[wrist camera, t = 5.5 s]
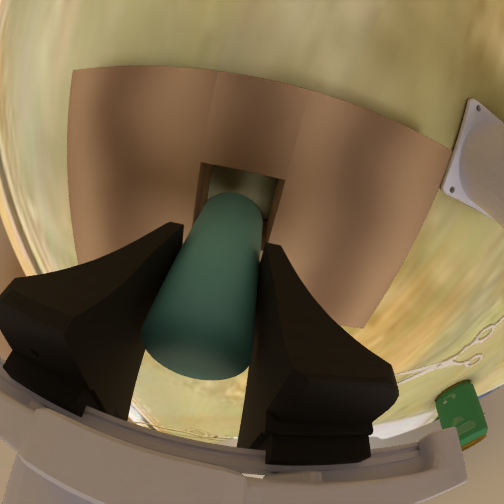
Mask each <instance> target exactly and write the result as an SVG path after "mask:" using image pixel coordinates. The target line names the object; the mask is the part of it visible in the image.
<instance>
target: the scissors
mask: <svg viewBox="0 0 504 504" xmlns="http://www.w3.org/2000/svg"><path fill="white" fill-rule="evenodd" d="M503 319H504V315H503V316H502V317H501V318H500V319H499V320H498V321H497V322H496V323H495V324H494V325H493V324H490V325H488V326H486V327H485V328H483V329H482V330H481V331H480V332H479V333H478V334H477V335H476V337H475V338H474V340H473V341H472V342H470V343H469V344H468V345H466V346H464V347H463V348H462V350H460V351H459V352H458V353H457V354H455V355H453V356H451V357H449V358H447V359H445V360H443V361H441V362H439V363H436V364H432V365H429V366H425V367H421V368H417V369H413V370H410V371H406V372H402V373H397V374H394V375H395V376H397V375H403V374H408V373H413V372H419V371H422V370H424V371H422V372H420V373H418V374H416V375H414V376H412V377H410V378H408V379H406V380H404V381H402V382H399V383H397V385H399V384H402V383H405V382H407V381H410V380H412V379H415V378H417V377H420V376H422V375H424V374H426V373H429V372H431V371H433V370H435V369H440V368H444V367H448V366H451V365H458V366H459V365H462V364H465V366H466V367H471V366H473V365H475V364H477V363H478V362H479V361H480V360H481V359H482V357H483V355H482V353H481V354H475V355H474V356H472V357H471V358H470V359H468V360H465V361H463V362H458V361H455V360H454V359H455V358H457V357H458V356H459V355H460V354H461V353H462V352H463V351H465V350H466V349H467V348H469V347H470V346H472V345H474V344H475V343H481V342H483V341H484V340H486V339H487V338H488V337H489V336H490V335H491V334H492V332H493V331H494V329H495V327H496V326H497V325H498V324H499V323H500V322H501V321H502V320H503ZM489 328H491V331H490V332H489V333H488V334H487V335H486V336H485V337H483V338H481V339H479V336H480V335H481V334H482V333H483V332H484V331H486V330H487V329H489ZM477 357H480V358H479V359H478V360H477V361H476V362H475V363H473V364H470V365H469V364H468V363H469V362H470V361H471V360H473V359H474V358H477Z"/></svg>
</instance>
